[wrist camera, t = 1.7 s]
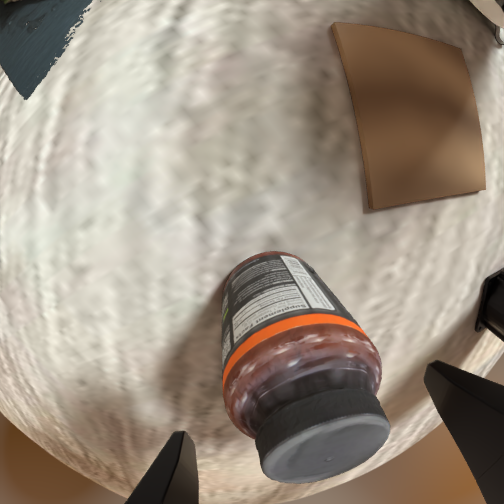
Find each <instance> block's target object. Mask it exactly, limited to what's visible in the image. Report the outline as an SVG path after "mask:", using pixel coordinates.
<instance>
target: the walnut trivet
mask: <svg viewBox="0 0 504 504" xmlns="http://www.w3.org/2000/svg"><path fill="white" fill-rule="evenodd" d="M331 28H332V31H333V34H334V37H335V40H336V43H337V46H338V49H339V52H340V56H341V59H342V63H343V66H344V70H345V74H346V77H347V81H348V85H349V89H350V94H351V98H352V102H353V107H354V111H355V116H356V121H357V126H358V132H359V137H360V143H361V149H362V155H363V162H364V169H365V177H366V185H367V194H368V204H369V208H371V209H373V210H374V209H380V208H385V207H390V206H396V205H401V204H406V203H412V202H417V201H423V200H428V199H434V198H440V197H445V196H451V195H457V194H463V193H469V192H475V191H481V190H486V180H485V163H484V152H483V143H482V135H481V128H480V122H479V116H478V111H477V106H476V101H475V96H474V92H473V88H472V84H471V80H470V77H469V73H468V70H467V66H466V63H465V60H464V57H463V54H462V51H461V49H460V48H457V47H454V46H452V45H449V44H446V43H443V42H439V41H436V40H433V39H429V38H426V37H422V36H418V35H414V34H410V33H406V32H401V31H397V30H392V29H386V28H380V27H374V26H367V25H360V24H351V23H340V22H334V23H333V24H332V26H331Z"/></svg>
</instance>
